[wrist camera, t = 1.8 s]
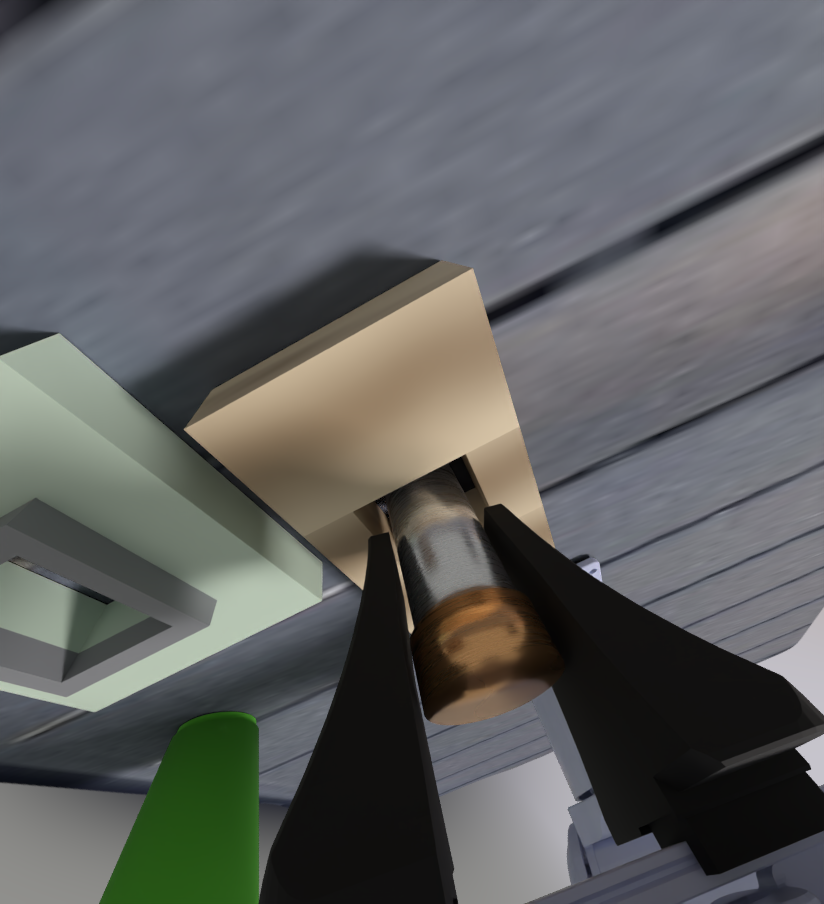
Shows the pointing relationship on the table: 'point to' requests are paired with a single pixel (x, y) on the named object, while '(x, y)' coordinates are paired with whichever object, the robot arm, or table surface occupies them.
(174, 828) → the cup
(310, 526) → the mount
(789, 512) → the table surface
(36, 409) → the socket
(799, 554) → the table surface
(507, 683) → the pin
